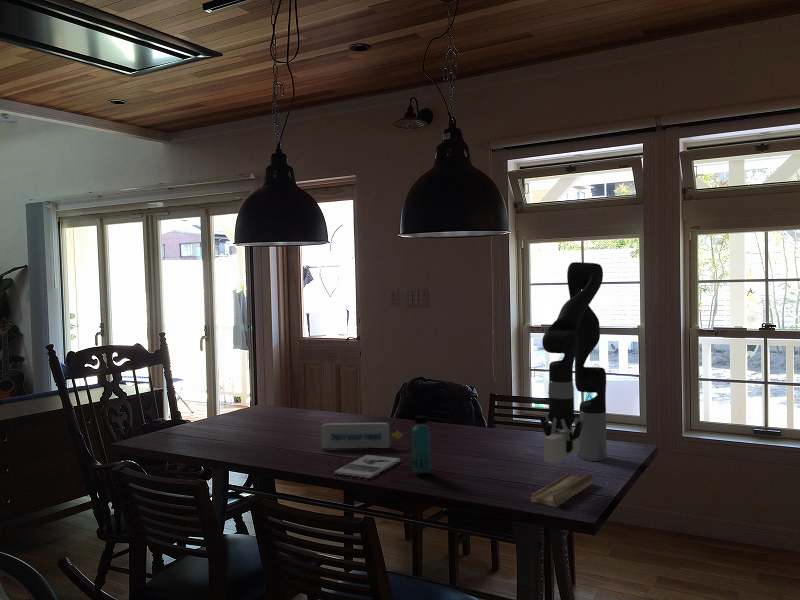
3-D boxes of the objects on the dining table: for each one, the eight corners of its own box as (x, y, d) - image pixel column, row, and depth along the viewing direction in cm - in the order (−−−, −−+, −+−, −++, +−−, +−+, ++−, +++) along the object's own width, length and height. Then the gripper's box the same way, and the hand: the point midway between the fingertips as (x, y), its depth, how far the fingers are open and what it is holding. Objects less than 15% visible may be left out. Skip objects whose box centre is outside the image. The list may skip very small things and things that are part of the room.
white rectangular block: (543, 461, 191) (543, 437, 191) (568, 448, 205) (568, 426, 205) (554, 463, 189) (554, 439, 189) (579, 450, 203) (579, 428, 203)
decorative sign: (321, 450, 255) (320, 425, 255) (322, 448, 259) (322, 423, 259) (402, 449, 254) (401, 424, 254) (402, 447, 258) (402, 422, 258)
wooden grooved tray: (531, 501, 190) (530, 490, 190) (568, 479, 210) (568, 469, 210) (556, 507, 185) (556, 495, 185) (591, 484, 205) (591, 473, 205)
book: (369, 481, 215) (369, 475, 215) (334, 476, 221) (334, 471, 221) (400, 463, 236) (400, 458, 236) (367, 459, 242) (367, 454, 242)
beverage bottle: (431, 471, 223) (430, 413, 222) (431, 477, 216) (430, 417, 216) (412, 471, 223) (411, 414, 223) (412, 477, 216) (411, 418, 216)
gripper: (588, 395, 195) (589, 452, 196) (545, 391, 204) (546, 445, 205) (578, 399, 189) (579, 457, 190) (534, 395, 198) (535, 450, 199)
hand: (562, 451), depth 197 cm, fingers closed on white rectangular block, 3 cm apart
